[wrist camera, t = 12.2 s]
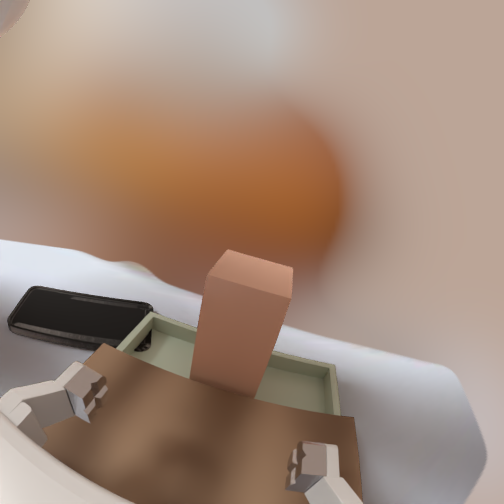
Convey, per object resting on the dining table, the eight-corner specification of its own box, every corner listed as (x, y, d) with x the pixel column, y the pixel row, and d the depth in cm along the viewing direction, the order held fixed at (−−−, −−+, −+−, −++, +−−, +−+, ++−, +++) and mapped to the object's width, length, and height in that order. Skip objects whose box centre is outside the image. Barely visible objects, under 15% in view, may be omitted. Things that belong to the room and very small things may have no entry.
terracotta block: (187, 388, 19) (206, 274, 16) (206, 351, 24) (227, 249, 21) (250, 407, 19) (291, 298, 16) (259, 367, 24) (293, 268, 20)
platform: (37, 453, 9) (21, 430, 8) (106, 369, 19) (103, 342, 18) (337, 549, 8) (364, 539, 7) (336, 438, 17) (353, 417, 16)
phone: (150, 351, 22) (3, 323, 17) (150, 360, 22) (6, 333, 17) (153, 302, 29) (32, 283, 24) (152, 311, 29) (33, 292, 24)
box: (113, 370, 19) (111, 352, 18) (149, 327, 26) (150, 311, 25) (330, 435, 18) (341, 421, 17) (326, 379, 24) (334, 364, 24)
